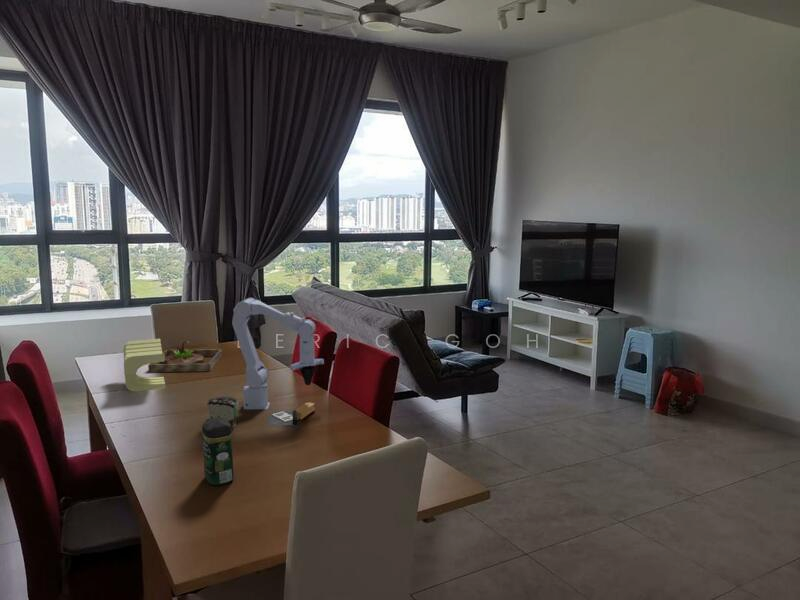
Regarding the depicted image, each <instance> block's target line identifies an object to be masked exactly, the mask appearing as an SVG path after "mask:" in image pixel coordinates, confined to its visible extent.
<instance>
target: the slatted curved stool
mask: <svg viewBox="0 0 800 600" xmlns="http://www.w3.org/2000/svg"><path fill="white" fill-rule="evenodd" d="M161 342H162V341H161V338H150V339H139V340H138V339H137V340H130V341H129V340H128V341H127V342H126V343H125V344H124V346H123V361H124V362H123V370H124V371H123V373H124V380H125V382H124V384H125V386H126V388H127V389H128V390H129V391H130V392H132V393H133V392H143V391H152V390H153V391H154V390H162V389H166V382H165V377H164V376H156V377H143V376H140V375H138V374H137V373H138V372H137V371H138V370H139V369H140V368H141V367H143V366H146V365H149V364H150V363H156V362H164V360H165V354H162V353H163V349H162V343H161Z"/></svg>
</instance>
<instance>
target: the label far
mask: <svg viewBox="0 0 800 600" xmlns="http://www.w3.org/2000/svg"><path fill="white" fill-rule="evenodd" d="M278 412H279V413H275V414H272V416H274V417H276V418H278V419H279V418H280V417H283V416H287V415H289V414H287V413H285V412H283V411H278Z"/></svg>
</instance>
